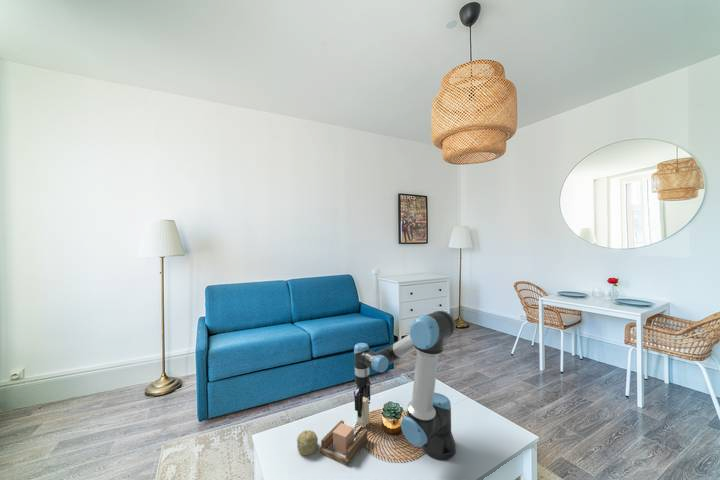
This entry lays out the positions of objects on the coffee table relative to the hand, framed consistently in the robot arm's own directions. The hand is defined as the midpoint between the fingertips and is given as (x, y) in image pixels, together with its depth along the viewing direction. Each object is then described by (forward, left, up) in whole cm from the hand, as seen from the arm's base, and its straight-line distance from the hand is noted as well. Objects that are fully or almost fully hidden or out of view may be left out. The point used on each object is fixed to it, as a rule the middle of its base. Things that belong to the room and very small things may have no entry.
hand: (363, 419), depth 144 cm
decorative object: (+14, +27, -3) cm, 31 cm away
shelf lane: (0, +17, -3) cm, 17 cm away
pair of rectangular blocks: (0, +10, -3) cm, 10 cm away
